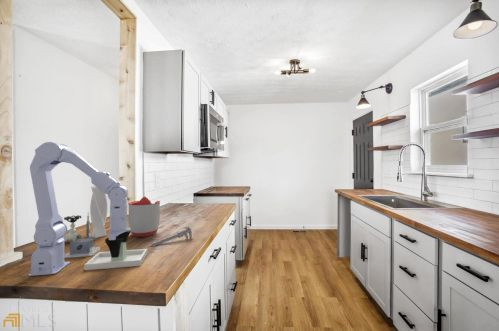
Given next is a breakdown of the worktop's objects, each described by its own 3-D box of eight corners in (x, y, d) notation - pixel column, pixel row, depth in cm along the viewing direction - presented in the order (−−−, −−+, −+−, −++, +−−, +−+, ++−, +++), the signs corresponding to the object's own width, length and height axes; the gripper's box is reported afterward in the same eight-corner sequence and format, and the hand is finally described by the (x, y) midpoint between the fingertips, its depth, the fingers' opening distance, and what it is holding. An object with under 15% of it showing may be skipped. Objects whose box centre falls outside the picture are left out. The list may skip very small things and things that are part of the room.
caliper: (190, 238, 120) (190, 225, 120) (191, 238, 119) (191, 226, 119) (148, 246, 107) (148, 232, 107) (149, 247, 106) (149, 233, 106)
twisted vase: (102, 233, 128) (102, 181, 128) (111, 235, 124) (111, 182, 125) (85, 237, 121) (85, 182, 121) (94, 239, 117) (94, 183, 117)
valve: (72, 244, 109) (72, 218, 109) (60, 243, 111) (60, 217, 111) (84, 240, 116) (84, 215, 116) (73, 239, 117) (73, 215, 117)
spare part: (122, 261, 88) (122, 245, 88) (111, 262, 88) (111, 246, 88) (126, 257, 92) (126, 242, 92) (114, 258, 91) (114, 242, 91)
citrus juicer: (168, 230, 133) (168, 194, 133) (147, 239, 116) (147, 198, 116) (144, 228, 137) (144, 193, 137) (120, 237, 120) (120, 197, 120)
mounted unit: (92, 255, 95) (92, 242, 95) (64, 258, 93) (64, 244, 93) (100, 249, 103) (100, 236, 103) (74, 250, 101) (74, 237, 101)
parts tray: (140, 265, 86) (140, 260, 86) (84, 270, 82) (84, 264, 82) (147, 253, 98) (147, 248, 98) (98, 257, 94) (98, 252, 94)
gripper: (124, 221, 84) (124, 260, 84) (135, 213, 98) (135, 246, 98) (102, 222, 82) (102, 261, 82) (116, 214, 96) (116, 247, 96)
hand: (118, 253), depth 90 cm, fingers open, 7 cm apart
